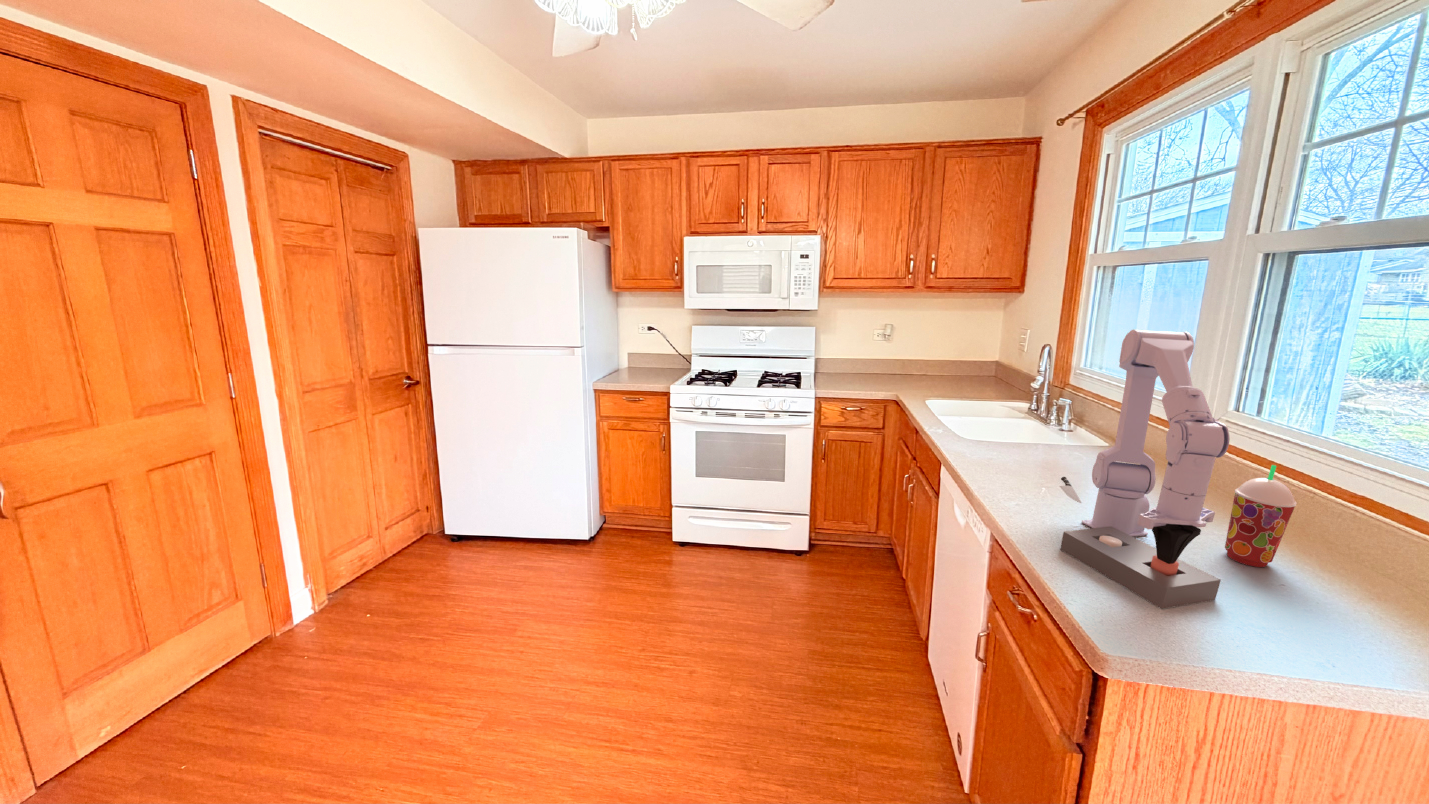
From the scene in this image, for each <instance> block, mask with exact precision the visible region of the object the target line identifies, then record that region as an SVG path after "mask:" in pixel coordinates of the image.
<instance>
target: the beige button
mask: <svg viewBox="0 0 1429 804" xmlns="http://www.w3.org/2000/svg"><path fill="white" fill-rule="evenodd" d="M1099 541H1101V542H1103V543H1105V544H1107V545H1109V546H1111V547H1120V546H1122V541H1121V540H1119V539H1117V538H1114V537H1111V536H1105V535H1103V536H1100V538H1099Z"/></svg>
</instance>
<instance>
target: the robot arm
mask: <svg viewBox="0 0 1429 804" xmlns="http://www.w3.org/2000/svg"><path fill="white" fill-rule="evenodd" d="M1194 346H1195V342H1194V337H1193V336H1192V334H1191V333H1190V332H1188V331H1182V332H1178V331H1177V332H1176V331H1158V330H1139V329H1131V330H1130V331H1129V332H1127V334H1126V335H1125V337H1124V338H1123V340H1122V343H1121V348H1120V349H1121V350H1120V353H1119V355H1120V356H1119V359H1118V360H1119V365H1118V366H1119V368H1120V369H1122V370H1125V371H1126V372H1125V383H1124V389H1123V395H1122V401H1121V407H1120V412H1119V413H1120V414H1119V418H1118V425H1117V431H1116V437H1115V443H1114V445H1113V446H1111V447H1109V448H1107V449H1104V450H1102V451H1100V452H1098V454H1097V455H1096V459H1095V462H1094V465H1093V467H1092V472H1091V479H1092V483H1093V485H1094V486H1095V487H1096V488H1097V489H1098V492H1097V496H1096V502H1095V505H1094V509H1093V514H1092V515H1093V516H1092V519H1084V520H1081V523H1082V524H1083V525H1086V526H1087V527H1089V528H1090V529H1091V528H1100V527H1108V526H1111V527H1113V528H1116V529H1118V530H1120V531H1122V532H1124V533H1126V534H1128V535H1130V536H1132V537H1134V538H1136V537H1143V536H1148V533H1149V532H1147V531H1145V529H1147V530H1151V531H1152V534H1153V537H1154V541H1155V542H1154V543H1155V548H1156V551H1157V558H1158V559H1160V560H1162V561H1164V562H1166V563H1168V564H1173V563H1175V562H1176V560H1177V559H1179V557H1180V555H1182V553H1183V551H1184V550H1185V548H1186V547H1187V546H1188V545H1189V544H1190V543H1191V542H1192V541H1193V540H1194V539H1196V538H1197V537H1198V536H1200V535H1201V532H1202V530H1201V528H1204V527H1205V528H1206V527H1207V523H1212V522H1213V521H1214V518H1215V514H1216V512H1215V511H1214V510H1210V509H1208V508H1206V507H1204V504H1205V503H1204V502H1205V499H1206V497H1207V493H1208V489H1209V485H1210V483H1211V482H1210V481H1211V478H1212V474H1213V471H1214V468H1215V467H1214V466H1215V463H1216V459H1217V458H1222V457H1223V456H1224V455H1225V454H1226V453H1227V451H1228V449H1229V446H1230V432H1229V428H1228V426H1227V425H1226V424H1225V423H1224V422H1220V420H1219V419H1218V418H1214V417H1213V414H1212V412H1211V409H1210V407H1209V405H1208V402H1207V400H1206V396H1205V394H1204V391H1202V389H1199V388H1197V387H1195V386H1193V382H1192V378H1191V373H1190V369H1189V368H1190V367H1189V364H1188V363H1189V361H1190V358H1191V357H1192V355H1193V352H1194V348H1195V347H1194ZM1158 377H1159V378H1160V381H1161V383H1162V385H1163V387H1164V389H1165V391H1166V393H1165V394H1163V395H1162V398H1161V403H1162V406H1163V409H1164V413H1165V415H1166V420H1167V422H1168V425H1169V428H1168V430H1167V431H1166V437H1165V442H1166V451H1165V459H1166V461H1167V464H1166V467H1165V473H1164V476H1163V482H1162V484H1161V487H1160V488H1161V489H1160V493H1159V497H1158V501H1157V505H1156V506H1155V507H1153V508H1152V509H1150V506H1151V505H1150V502H1149V499H1148V497H1147V496H1146V495H1148V494H1150V493H1151V492H1152V491H1153V490H1154V488H1155V485H1156V481H1157V480H1156V479H1157V477H1156V462H1155V460H1154V459H1153V458H1152V457H1151V456H1150V455H1149V454H1147V453H1146V452H1144V448H1145V445H1146V444H1145V443H1146V439H1147V433H1148V432H1147V431H1148V425H1149V420H1150V414H1151V408H1152V404H1153V397H1154V392H1155V386H1156V380H1157V378H1158Z"/></svg>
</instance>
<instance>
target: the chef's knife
mask: <svg viewBox="0 0 1429 804" xmlns="http://www.w3.org/2000/svg"><path fill="white" fill-rule="evenodd" d="M1060 479H1061V480H1063V482H1064V483H1065V485H1059V488H1060V489H1061V490H1062V491H1063V492H1064V494H1065V495H1066V496H1068V497H1069V498H1070V499H1072V500H1073V501H1075V502H1077V503H1079V504H1083V503H1082V501H1081V499H1080V497H1079V496H1078V493H1077V492H1076V491H1075V489H1074V488H1073V486H1072V484H1071V483H1070V481H1069V480H1068V479H1067V476H1063V477H1061V478H1060Z"/></svg>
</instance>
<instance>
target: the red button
mask: <svg viewBox="0 0 1429 804" xmlns="http://www.w3.org/2000/svg"><path fill="white" fill-rule="evenodd" d="M1178 566H1179V563H1178V562H1177V561H1176V562H1175V563H1173V564H1168V563H1166V562H1164V561H1162V560H1160V559H1158V558H1157V555H1155V556H1153V557H1152V562H1151V566H1150V567H1151V568H1153V569H1154V570H1156V571H1158V572H1160V573H1162V574H1164V575H1166V576H1172V575H1176V574H1177V570H1178Z"/></svg>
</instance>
